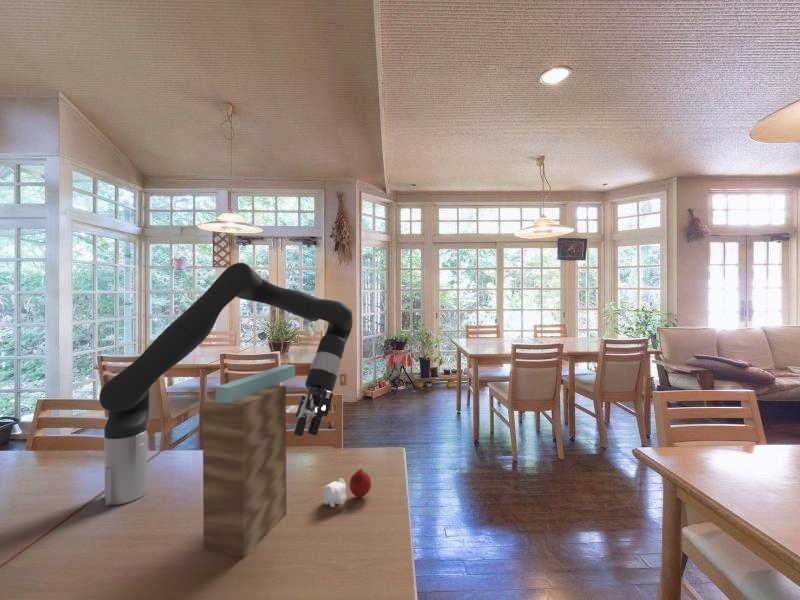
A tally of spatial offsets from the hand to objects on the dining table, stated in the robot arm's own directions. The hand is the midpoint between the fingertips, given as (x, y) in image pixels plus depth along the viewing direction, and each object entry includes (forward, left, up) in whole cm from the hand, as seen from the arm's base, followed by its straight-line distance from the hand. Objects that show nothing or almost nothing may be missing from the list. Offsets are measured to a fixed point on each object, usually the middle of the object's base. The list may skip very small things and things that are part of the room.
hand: (304, 435), depth 90 cm
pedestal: (-12, +4, -20) cm, 24 cm away
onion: (+15, -1, -21) cm, 26 cm away
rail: (-8, +7, +12) cm, 16 cm away
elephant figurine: (+8, +1, -21) cm, 22 cm away
